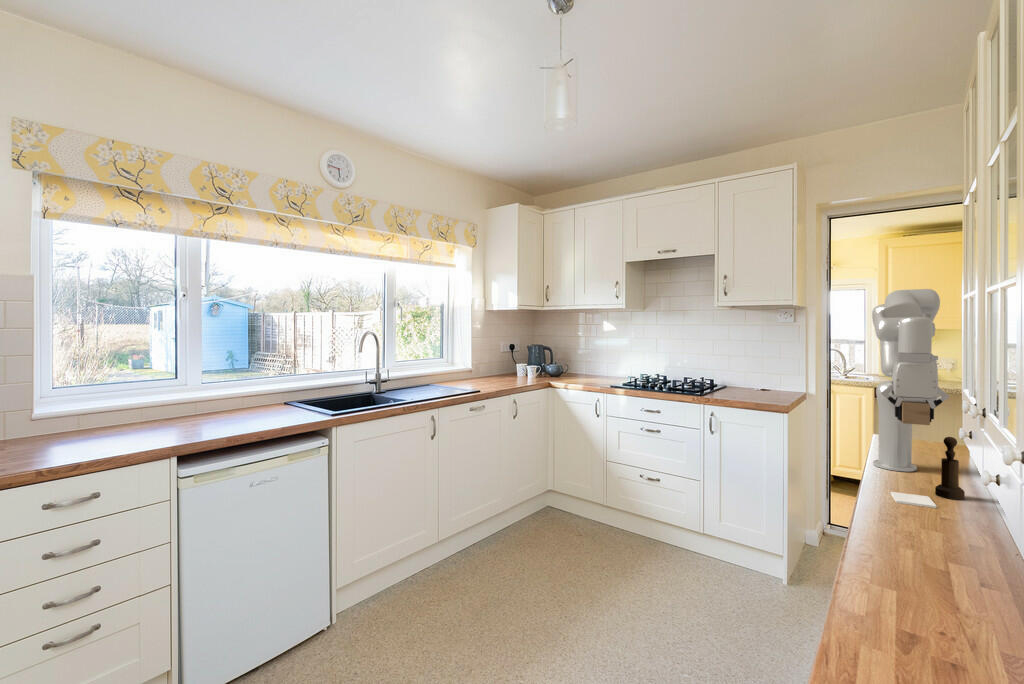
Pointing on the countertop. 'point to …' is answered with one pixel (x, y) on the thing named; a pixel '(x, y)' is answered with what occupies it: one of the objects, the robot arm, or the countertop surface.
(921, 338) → the robot arm
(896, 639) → the countertop surface
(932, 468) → the countertop surface
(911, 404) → the walnut cube
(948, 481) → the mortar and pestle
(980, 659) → the countertop surface
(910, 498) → the tile pad
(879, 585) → the countertop surface
